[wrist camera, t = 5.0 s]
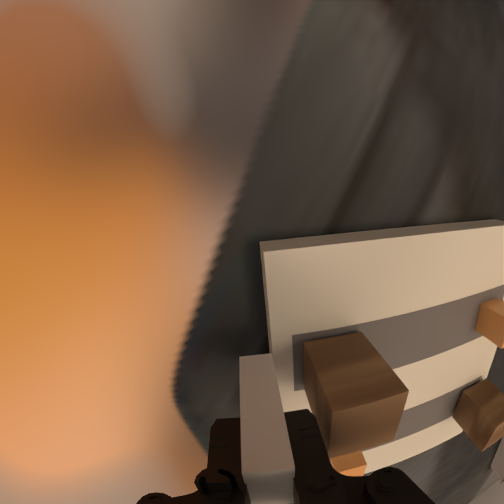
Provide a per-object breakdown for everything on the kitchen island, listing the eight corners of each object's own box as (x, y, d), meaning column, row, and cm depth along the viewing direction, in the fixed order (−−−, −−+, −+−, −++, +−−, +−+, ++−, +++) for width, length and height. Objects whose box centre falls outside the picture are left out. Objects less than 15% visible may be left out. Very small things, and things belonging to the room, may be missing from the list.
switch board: (259, 241, 15) (271, 271, 9) (494, 219, 15) (547, 230, 10) (279, 470, 19) (287, 519, 14) (450, 418, 19) (475, 449, 14)
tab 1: (303, 341, 13) (332, 412, 8) (361, 331, 13) (409, 390, 8) (304, 388, 14) (326, 459, 9) (357, 377, 14) (393, 439, 9)
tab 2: (462, 390, 15) (497, 426, 10) (486, 378, 15) (519, 409, 10) (452, 416, 16) (481, 452, 11) (475, 404, 16) (504, 435, 11)
